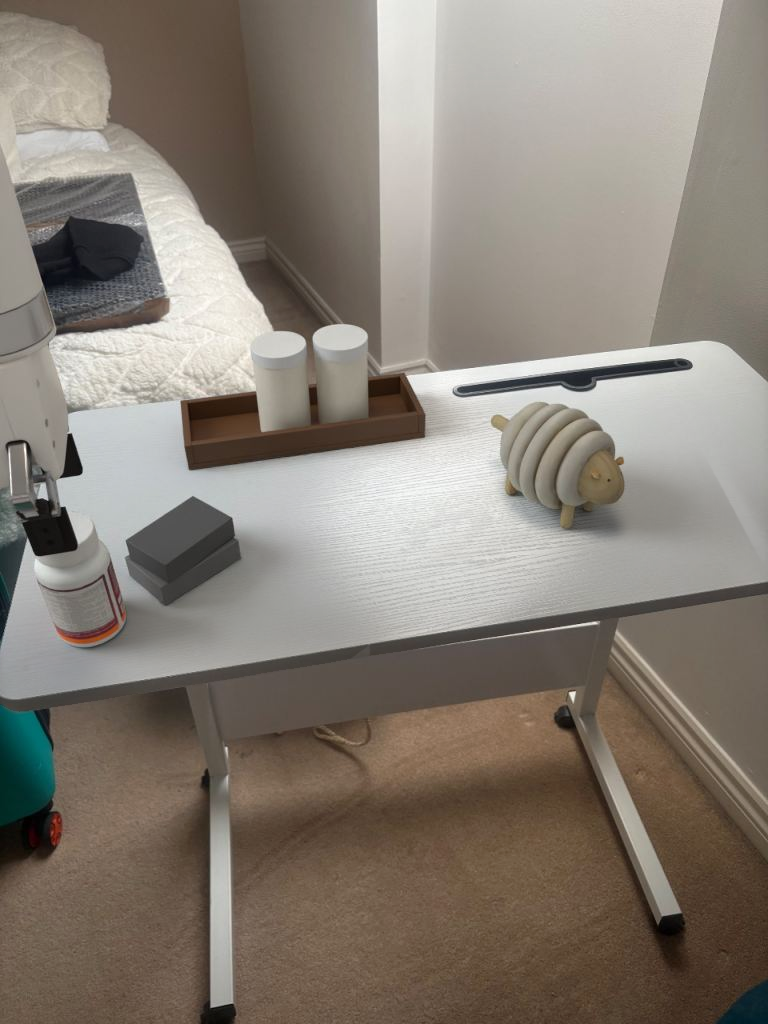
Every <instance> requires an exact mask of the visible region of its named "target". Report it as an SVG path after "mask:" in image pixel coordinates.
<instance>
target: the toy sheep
mask: <svg viewBox="0 0 768 1024" xmlns="http://www.w3.org/2000/svg"><path fill="white" fill-rule="evenodd" d="M490 425H491V426H492V428H495V429H496V430H498V431H500V432H502V433H501V437H500V442H499V443H500V447H499V458H500V463H501V464H502V466H503V468H504V469H505V470H506V477H505V484H504V493H506V494H507V495H509V496H510V495H511V496H512V495H515V494H516V493H517V491H518V492H520V493H522V495H523V496H524V498H525V499H526V500H528V501H529V502H531V503H534V504H541V505H543V506H544V507H546V508H548V509H553V510H554V509H555V510H556V509H557V510H558V509H561V510H560V511H561V512H560V516H559V517H560V518H559V526H560V527H561V528H562V529H564V530H566V529H570V528H572V526H573V521H574V515H575V510H576V507H578V506H582V509H583V510H584V511H586V512H593V510H594V509H595V507H596V505H597V504H598V505H603V506H604V505H606V506H607V505H612V504H615V503H617V502H618V501H619V500H620V499H621V498H622V496H623V495H624V491H625V479H624V475H623V472H622V470H621V467H620V466H622V465H624V463H625V459H624V457H623V456H618V457H617V458H616V444H615V441H614V439H613V437H612V436H611V435H610V434H609V433H608V432H606V431H604V429H603V427H602V426H601V424H600V422H598V421H597V420H595V419H593V418H590V417H589V416H588V414H587V413H586V412H585V411H583V410H581V409H579V408H570V407H568V406H567V405H565V404H563V403H551V404H549V403H547V402H545V401H535V402H532V403H529V404H527V405H525V406H524V407H522V408H521V409H519V411H518V412H517V413H515V414H514V415H513V416H511V418H510V419H509V418H507V417H505V416H503V415H502V414H495V415H493V416H492V417H491V418H490Z"/></svg>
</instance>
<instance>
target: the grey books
mask: <svg viewBox="0 0 768 1024" xmlns="http://www.w3.org/2000/svg"><path fill="white" fill-rule="evenodd" d="M235 531H236V530H235V525H234V519H233V517H232V516H230V515H228V514H227V513H225V512H224V511H221V510H219V509H217V508H216V507H214V506H212V505H211V504H209V503H207V502H206V501H204V500H202V499H200V498H197V497H196V496H194V495H192V496H191V497H189V498H187V499H186V500H184V501H183V502H181V503H180V504H178V505H176V506H175V507H173V508H172V509H171V510H169V511H168V512H166V513H165V514H163V515H161V516H160V517H159V518H157V519H155V520H154V521H152V522H151V523H149V524H148V525H146V526H145V527H143V528H141V529H140V530H139V531H137V532H136V533H134V534H132V536H130V537H127V539H125V544H126V547H127V550H128V551H127V552H128V555H126V556H125V557H124V560H125V564H126V568H127V570H128V574H129V576H130V577H131V578H132V579H133V580H134V581H136V582H137V583H138V584H139V585H140V586H141V587H143V588H144V589H145V590H146V591H148V592H149V593H150V594H151V595H152V596H153V597H154V598H156V599H157V600H158V601H159V602H160V603H162V604H163V605H164V606H167V605H169V604H170V603H172V602H174V601H175V600H177V599H178V598H180V597H182V596H183V595H185V594H186V593H188V592H190V591H191V590H192V589H194V588H196V587H197V586H199V585H201V584H202V583H204V582H205V581H207V580H209V579H210V578H212V577H213V576H215V575H217V574H218V573H220V572H221V571H223V570H224V569H226V568H228V567H229V566H231V565H232V564H234V563H236V562H237V561H239V560H240V559H241V557H242V555H241V549H240V543H239V539H237V538H236V532H235Z"/></svg>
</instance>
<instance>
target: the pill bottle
mask: <svg viewBox="0 0 768 1024" xmlns="http://www.w3.org/2000/svg"><path fill="white" fill-rule="evenodd" d="M67 513H68V516H69V518H70V521H71V524H72V527H73V530H74V533H75V536H76V539H77V541H78V548H77V550H75V551H71V552H65V553H59V554H53V555H47V556H41V557H39V556H36V555H35V554H34V557H35V559H34V562H33V570H34V574H35V578H36V581H37V584H38V586H39V589H40V591H41V593H42V597H43V599H44V601H45V604H46V606H47V610H48V612H49V615H50V617H51V620H52V623H53V626H54V628H55V630H56V633H57V635H58V636H59V638H60V639H61V640H62V641H63V642H64V643H66V644H68V645H70V646H72V647H78V648H90V647H96V646H99V645H102V644H104V643H106V642H108V641H109V640H111V639H113V638H114V637H116V636H117V635H118V634H119V633H120V631H121V630H122V629H123V627H124V625H125V624H126V620H127V609H126V606H125V601H124V599H123V595H122V592H121V589H120V584H119V581H118V578H117V574H116V571H115V568H114V564H113V561H112V557H111V554H110V551H109V549H108V547H107V545H106V544H105V543H104V542H103V541H102V539H100V538H99V535H98V532H97V529H96V525H95V522H94V520H92V518H91V517H90V516H88V515H87V514H85V513H82V512H77V511H67Z"/></svg>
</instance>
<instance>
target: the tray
mask: <svg viewBox="0 0 768 1024" xmlns="http://www.w3.org/2000/svg"><path fill="white" fill-rule="evenodd" d="M308 387H309V400H310V414H311V426H304V427H296V428H289V429H281V430H274V431H266V432H261V427H260V418H259V410H258V402H257V393H256V390H254V391H246V392H239V393H238V392H237V393H229V394H220V395H213V396H205V397H197V398H189V399H182V400H180V402H179V403H180V412H181V423H182V424H181V425H182V434H183V446H184V452H185V457H186V463H187V469H188V470H189V471H191V470H192V471H193V470H197V469H198V470H199V469H200V470H201V469H204V468H213V467H220V466H221V467H222V466H228V465H236V464H240V463H241V464H242V463H251V462H255V461H265V460H271V459H277V458H284V457H285V458H287V457H291V456H301V455H307V454H314V453H321V452H327V451H334V450H341V449H350V448H357V447H364V446H370V445H377V444H378V445H379V444H385V443H393V442H399V441H407V440H414V439H415V440H416V439H422V438H425V436H426V412H425V410H424V408H423V406H422V404H421V402H420V401H419V398H418V396H417V394H416V392H415V390H414V388H413V387H412V384H411V383H410V381H409V378H408V377H407V375H406V373H405V372H397V373H390V374H381V375H375V376H368V412H369V418H364V419H356V420H349V421H341V422H334V423H326V424H320V423H319V415H318V399H317V384H316V383H311V384H309V383H308Z"/></svg>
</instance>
